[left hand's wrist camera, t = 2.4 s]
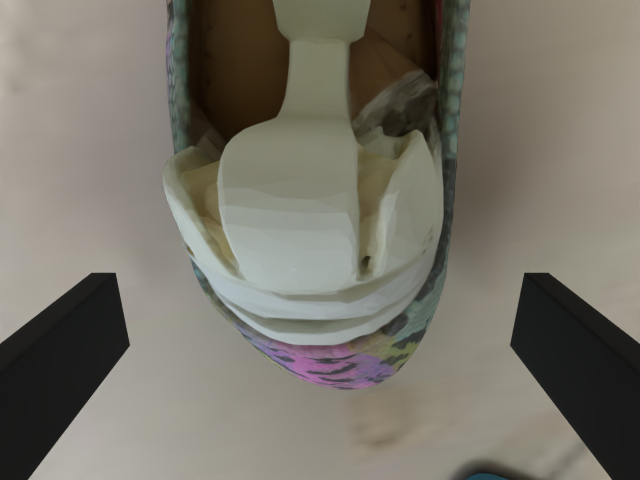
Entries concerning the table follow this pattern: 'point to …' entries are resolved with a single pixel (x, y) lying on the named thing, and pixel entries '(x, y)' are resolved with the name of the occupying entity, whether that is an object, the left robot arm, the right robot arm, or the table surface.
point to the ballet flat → (317, 172)
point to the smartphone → (486, 477)
